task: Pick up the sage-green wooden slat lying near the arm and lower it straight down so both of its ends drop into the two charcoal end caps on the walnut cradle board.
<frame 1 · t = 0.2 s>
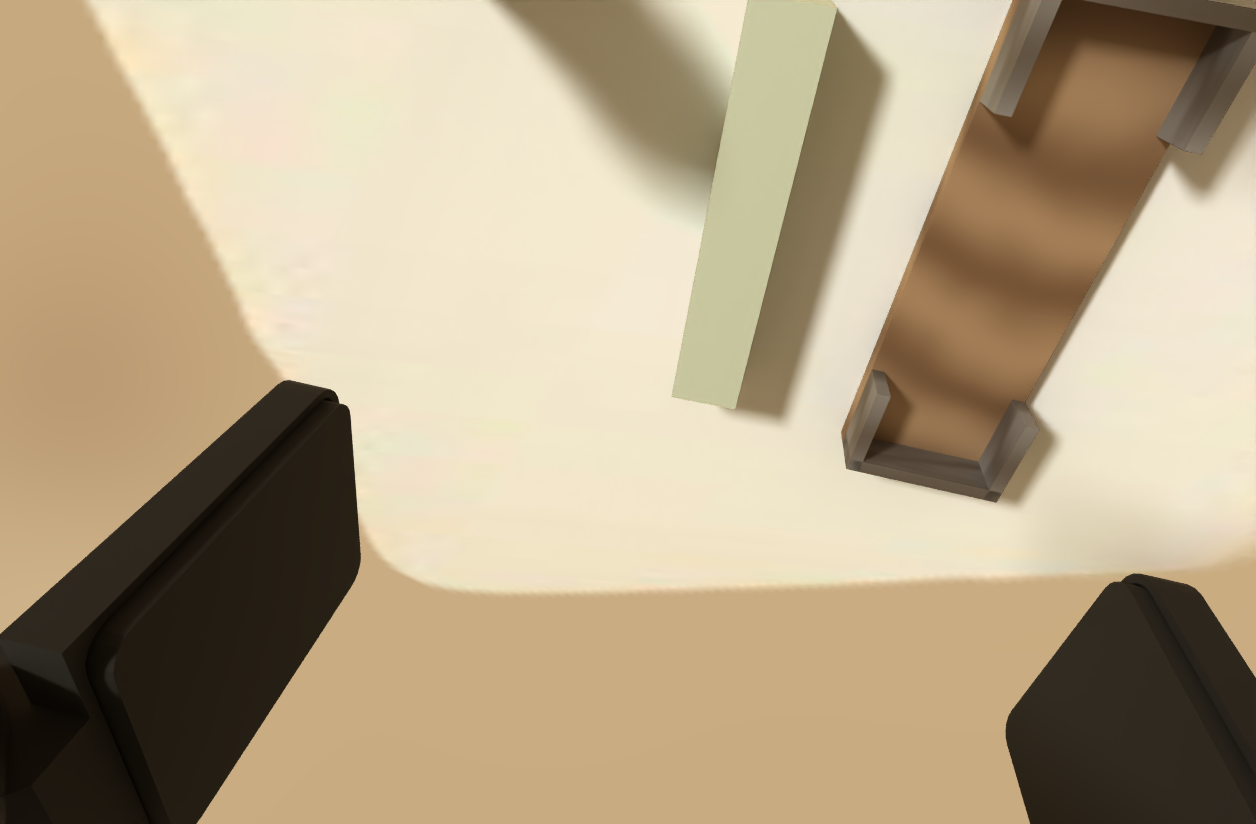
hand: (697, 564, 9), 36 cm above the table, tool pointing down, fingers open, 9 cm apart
slat: (744, 205, 43), on the table
cradle: (999, 259, 42), on the table
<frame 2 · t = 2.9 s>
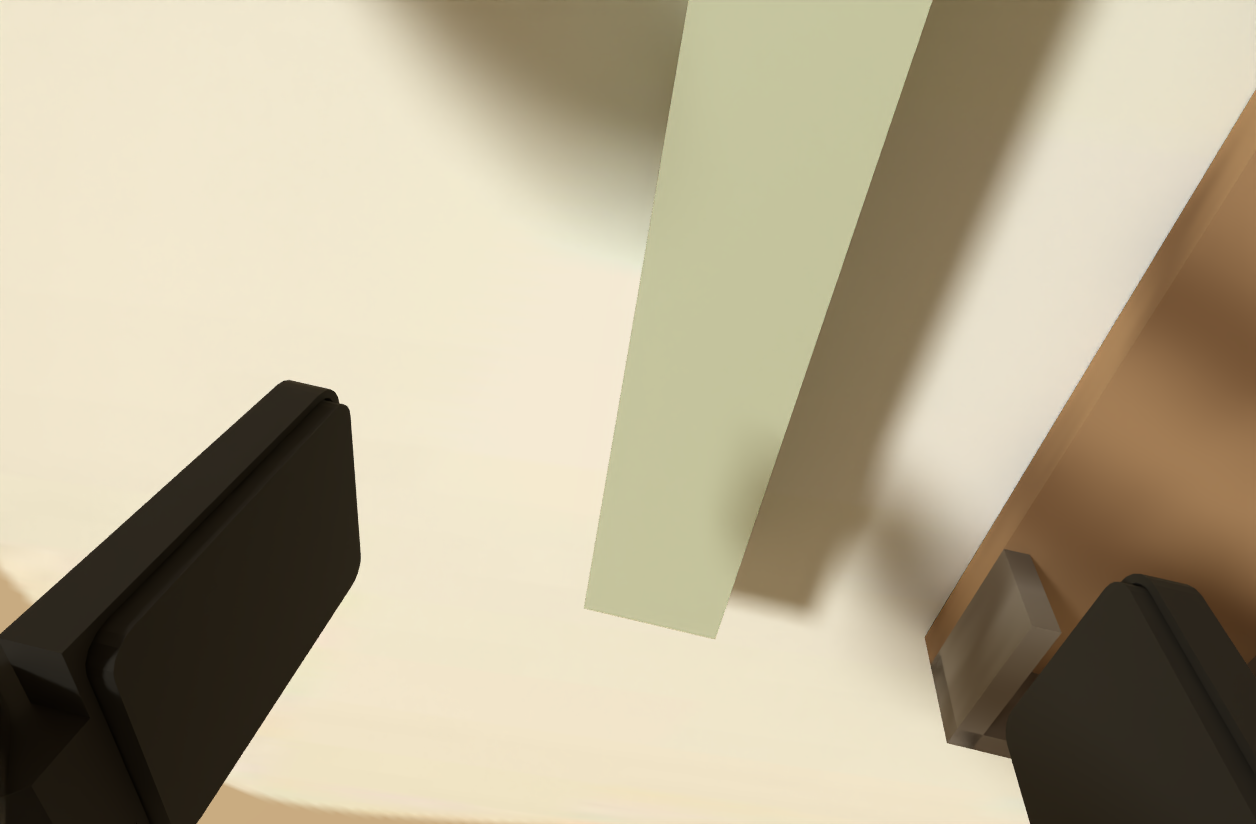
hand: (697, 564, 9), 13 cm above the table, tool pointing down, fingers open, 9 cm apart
slat: (742, 213, 20), on the table
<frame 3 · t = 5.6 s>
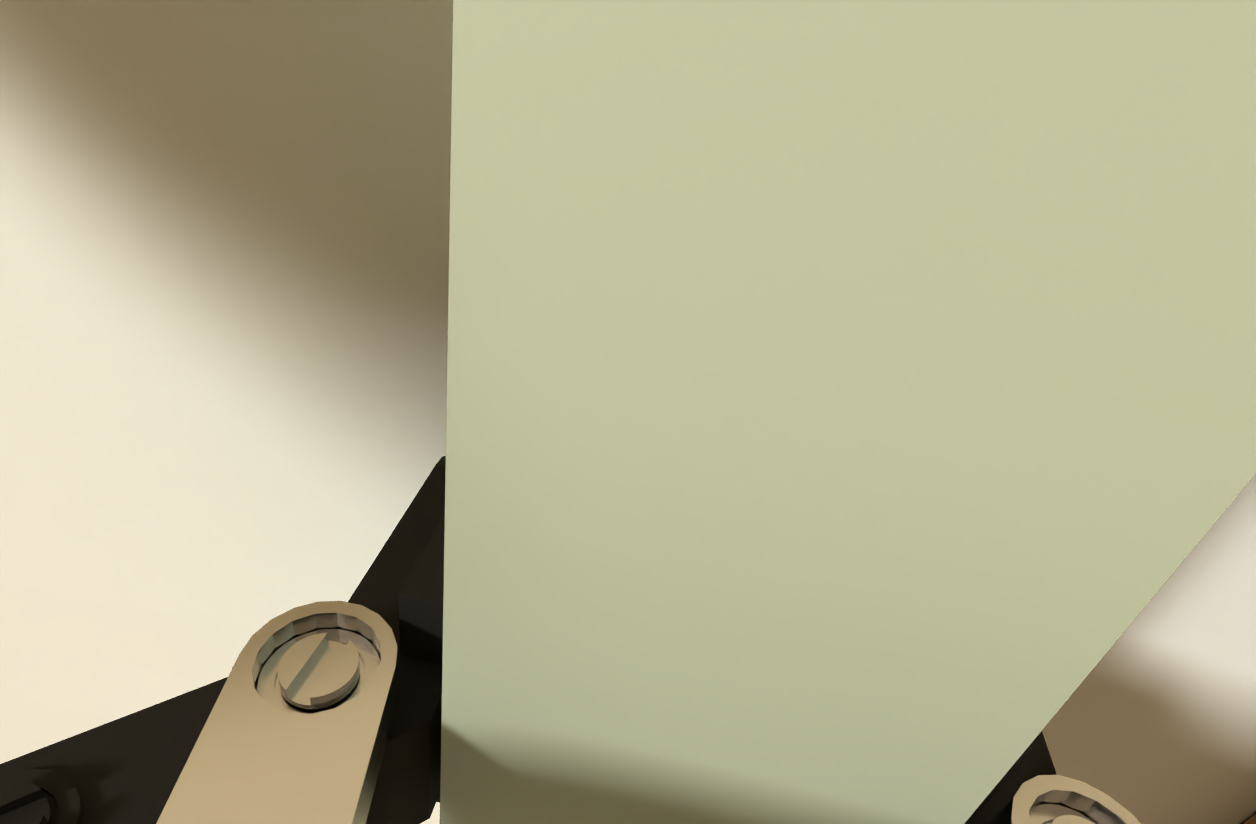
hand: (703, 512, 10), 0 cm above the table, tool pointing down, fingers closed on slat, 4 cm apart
slat: (707, 485, 10), on the table, touching gripper
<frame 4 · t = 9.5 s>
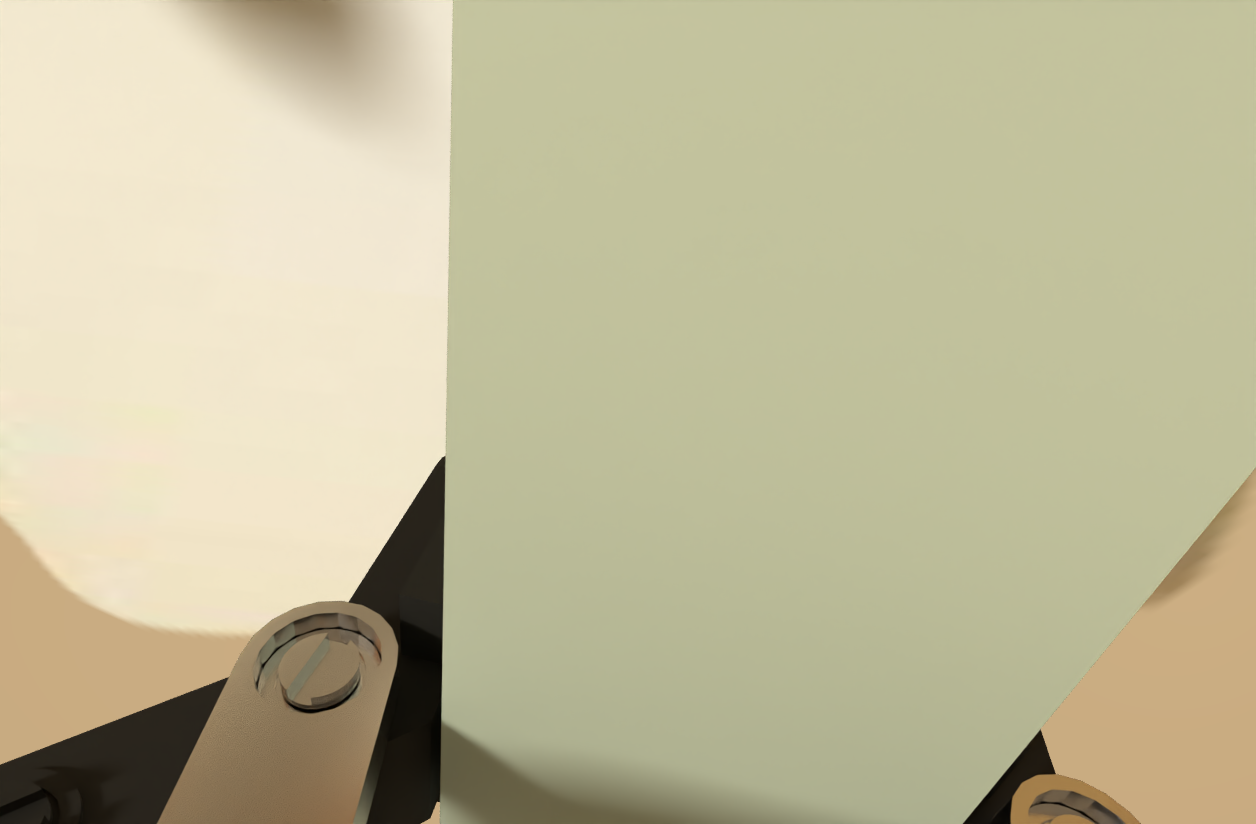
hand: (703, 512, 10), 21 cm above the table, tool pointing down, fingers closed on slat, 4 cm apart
slat: (706, 490, 10), point 21 cm above the table, touching gripper
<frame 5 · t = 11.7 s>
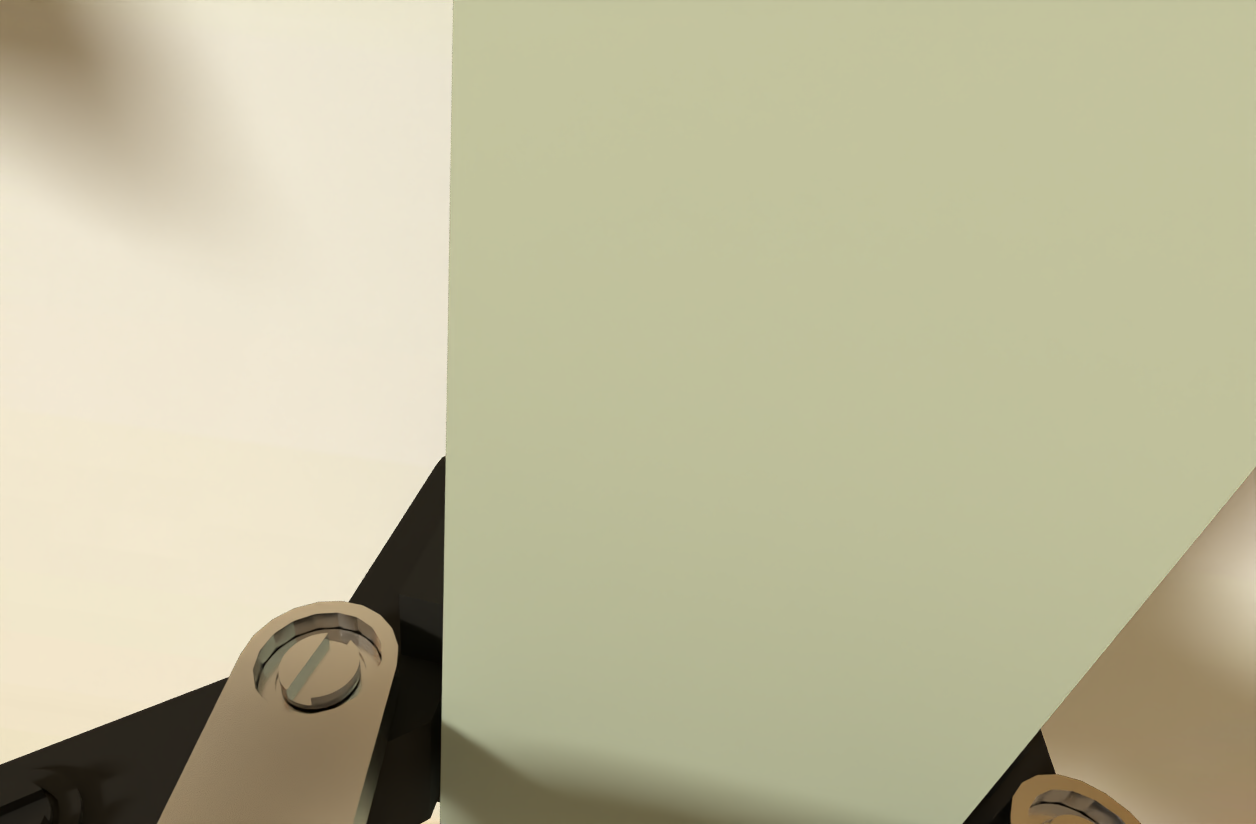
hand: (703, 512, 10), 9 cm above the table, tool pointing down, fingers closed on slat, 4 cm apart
slat: (705, 490, 10), point 9 cm above the table, touching gripper
when the fingers open (2 cm above the table, at t = 13.5 s): slat stays where it is, resting on cradle.
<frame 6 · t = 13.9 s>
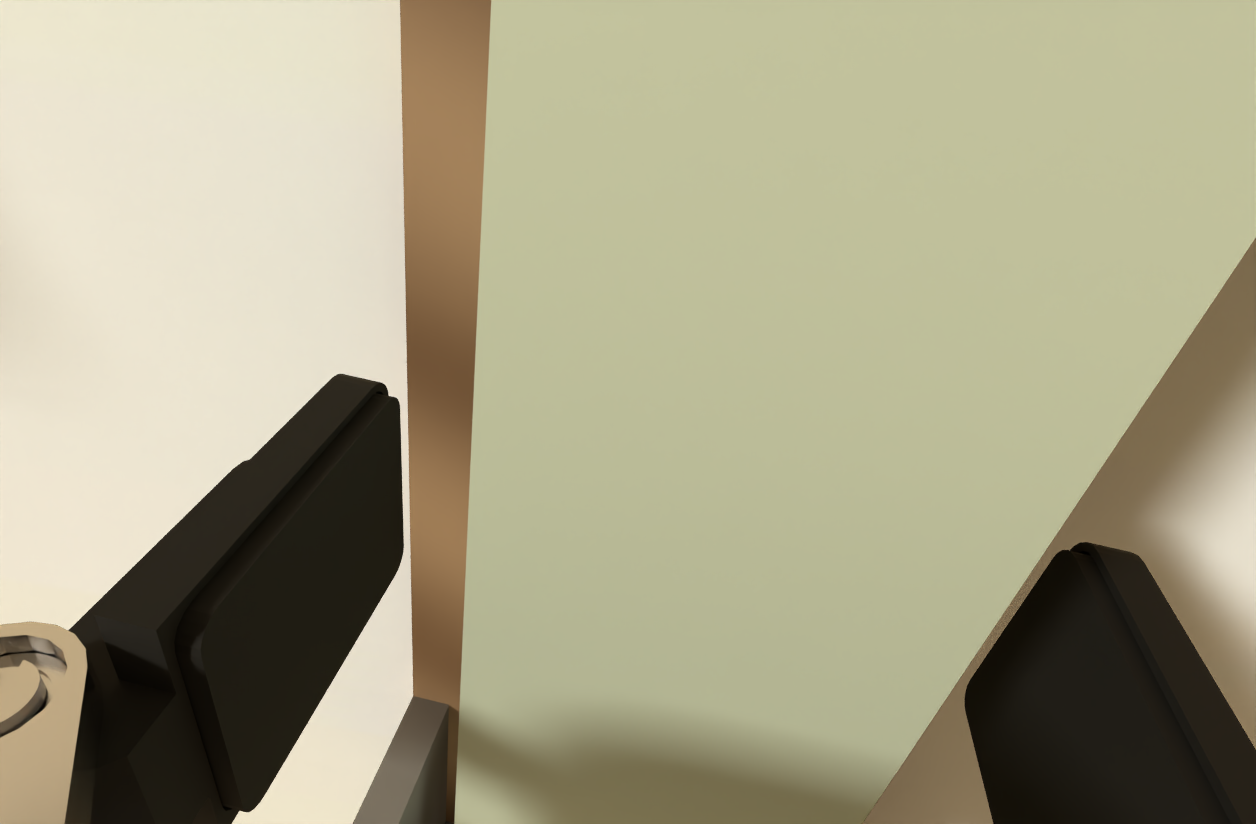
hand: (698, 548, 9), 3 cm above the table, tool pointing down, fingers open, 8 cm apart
slat: (703, 450, 11), point 1 cm above the table, touching cradle
cradle: (715, 414, 12), on the table
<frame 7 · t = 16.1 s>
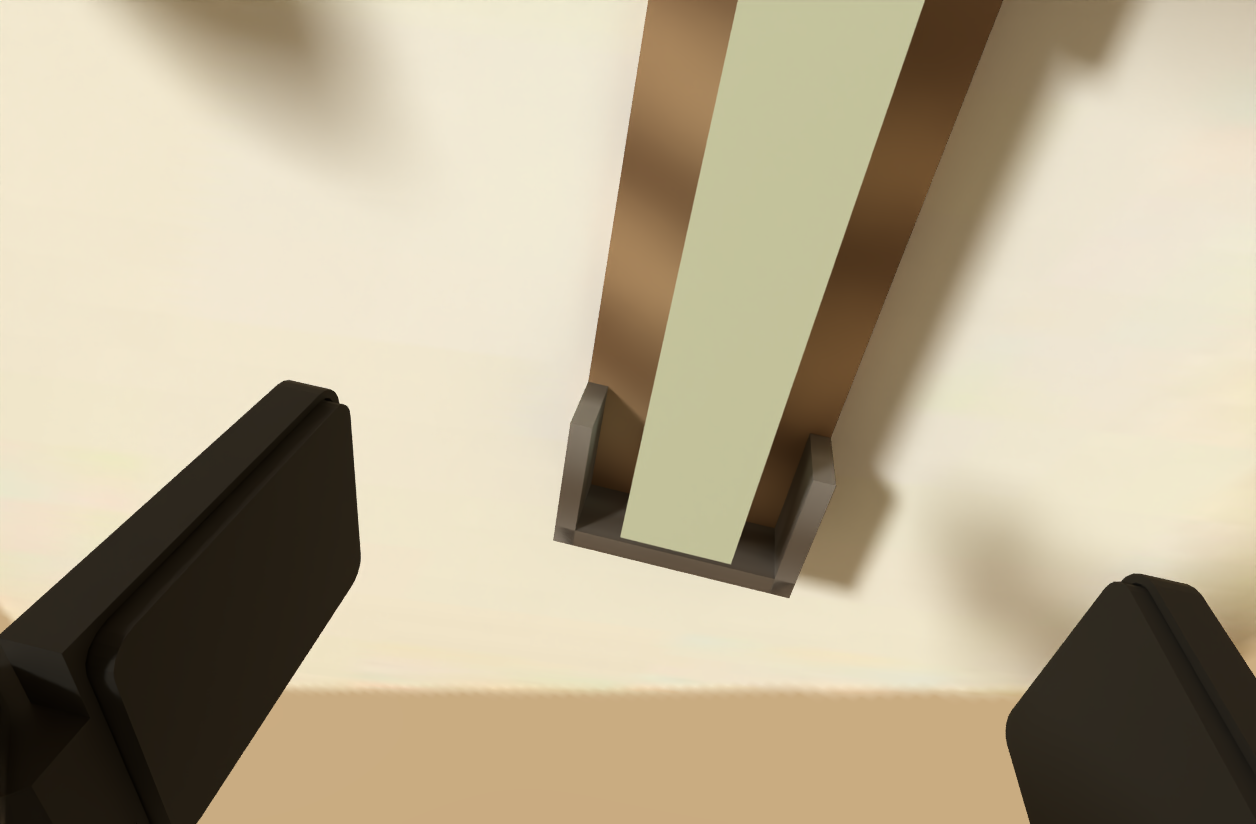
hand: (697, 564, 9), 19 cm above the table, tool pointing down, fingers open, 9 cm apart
slat: (760, 205, 24), point 1 cm above the table, touching cradle
cradle: (763, 198, 25), on the table
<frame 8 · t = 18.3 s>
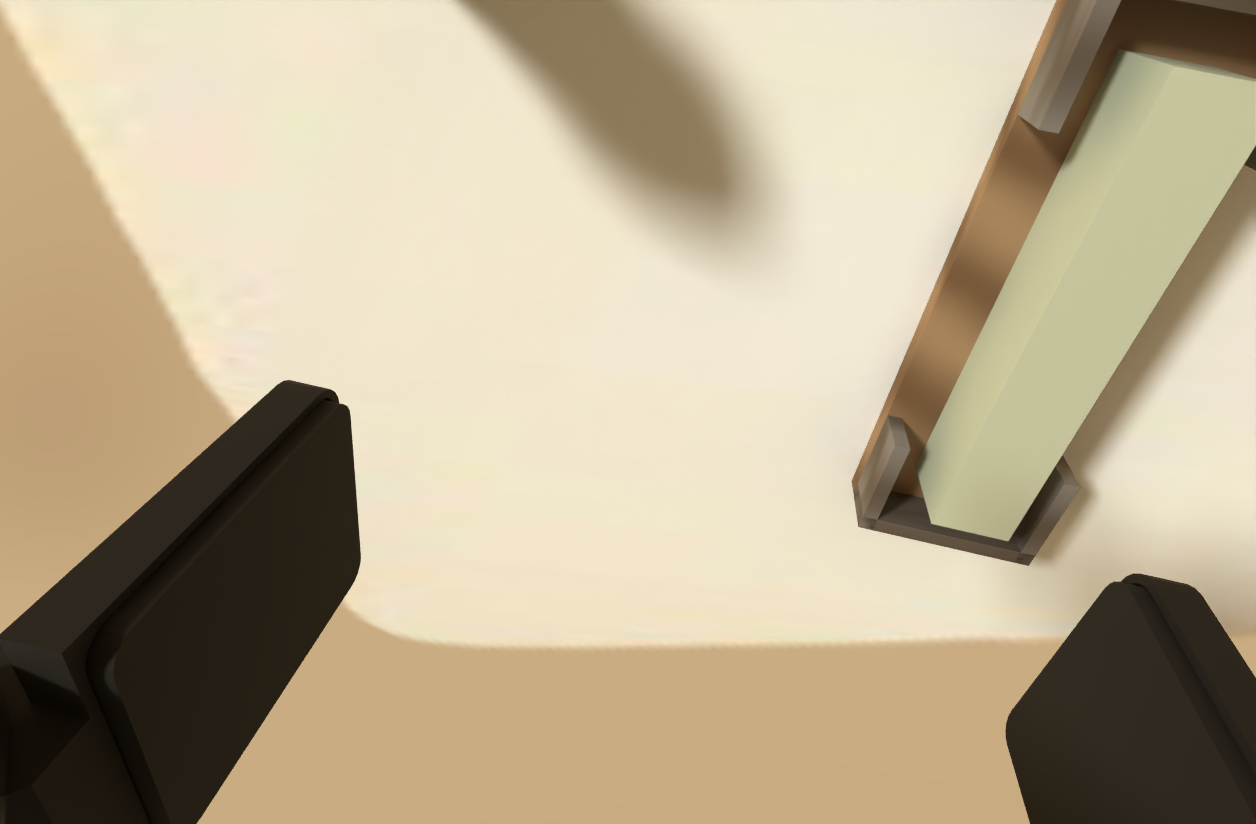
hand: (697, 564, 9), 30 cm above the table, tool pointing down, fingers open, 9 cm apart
slat: (1040, 301, 36), point 1 cm above the table, touching cradle
cradle: (1034, 294, 37), on the table
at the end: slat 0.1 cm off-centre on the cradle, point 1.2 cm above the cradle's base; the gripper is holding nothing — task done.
